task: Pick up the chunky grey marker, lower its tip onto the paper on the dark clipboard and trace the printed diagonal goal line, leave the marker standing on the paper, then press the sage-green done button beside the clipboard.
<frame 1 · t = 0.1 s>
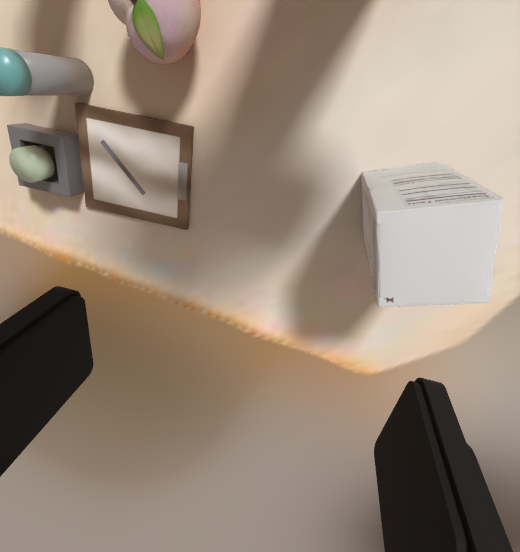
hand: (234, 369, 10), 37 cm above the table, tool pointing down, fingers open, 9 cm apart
marker: (78, 77, 42), on the table
supplement box: (399, 203, 42), on the table
done button: (32, 163, 44), point 4 cm above the table, slide at 0.0 cm
button housing: (55, 158, 48), on the table
decorative fruit: (179, 15, 37), on the table
clipboard: (136, 169, 46), on the table
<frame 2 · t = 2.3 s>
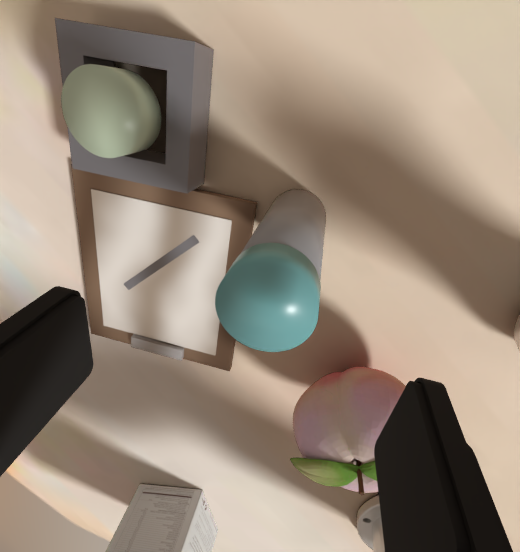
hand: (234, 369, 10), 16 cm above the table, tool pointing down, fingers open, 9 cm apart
marker: (297, 217, 23), on the table
supplement box: (180, 504, 45), on the table
done button: (113, 113, 18), point 4 cm above the table, slide at 0.0 cm
button housing: (151, 111, 22), on the table
decorative fruit: (355, 376, 29), on the table
clipboard: (162, 276, 28), on the table
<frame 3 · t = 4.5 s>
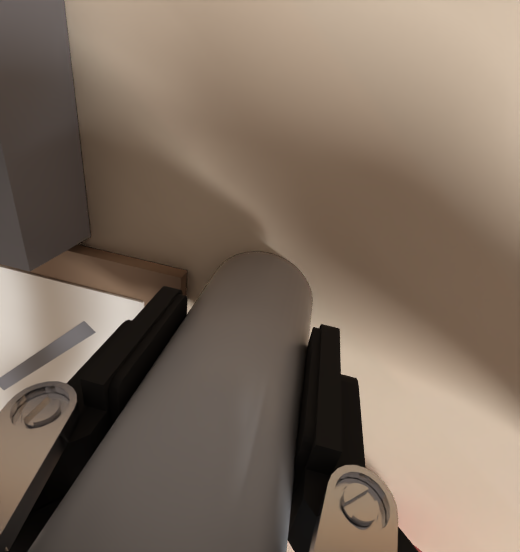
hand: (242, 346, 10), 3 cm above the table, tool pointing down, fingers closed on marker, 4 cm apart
marker: (260, 299, 13), on the table, touching gripper
clipboard: (54, 371, 17), on the table
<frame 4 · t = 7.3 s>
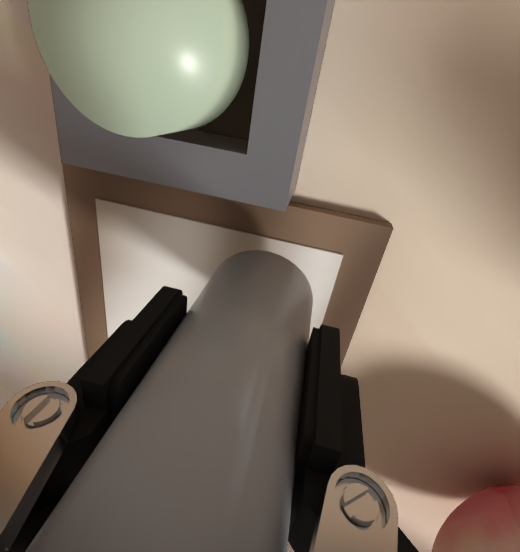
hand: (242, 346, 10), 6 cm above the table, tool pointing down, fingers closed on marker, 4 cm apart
marker: (260, 297, 13), point 3 cm above the table, touching gripper
done button: (150, 35, 8), point 4 cm above the table, slide at 0.0 cm
button housing: (208, 56, 12), on the table
decorative fruit: (502, 486, 19), on the table
clipboard: (207, 334, 18), on the table
when the fingers open (4 cm above the table, at t = 10.0 s): marker stays where it is, resting on clipboard.
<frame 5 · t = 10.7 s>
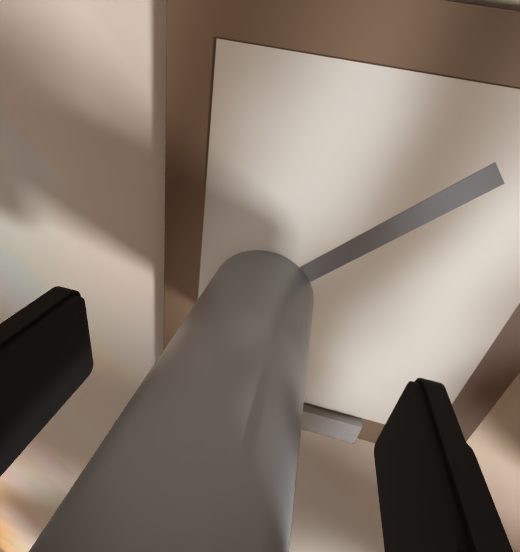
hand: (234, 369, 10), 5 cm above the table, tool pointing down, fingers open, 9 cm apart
marker: (261, 297, 13), point 1 cm above the table, touching clipboard
clipboard: (347, 274, 12), on the table
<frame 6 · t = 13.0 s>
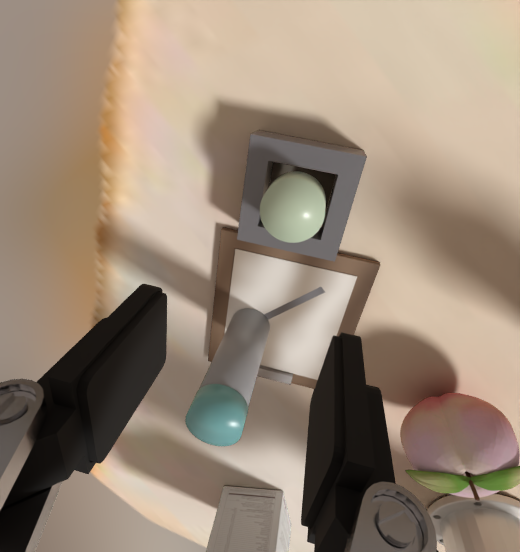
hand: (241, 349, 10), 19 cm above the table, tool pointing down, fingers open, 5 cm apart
marker: (250, 324, 34), point 1 cm above the table, touching clipboard
supplement box: (258, 503, 51), on the table
done button: (293, 206, 23), point 4 cm above the table, slide at 0.0 cm
button housing: (299, 191, 27), on the table
decorative fruit: (442, 398, 34), on the table
clipboard: (282, 316, 33), on the table
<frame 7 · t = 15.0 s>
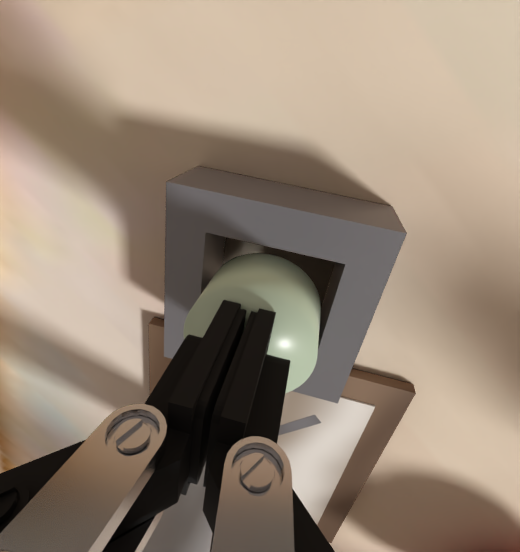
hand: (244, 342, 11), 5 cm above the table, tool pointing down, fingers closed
marker: (207, 452, 22), point 1 cm above the table, touching clipboard
done button: (256, 324, 12), point 4 cm above the table, slide at 0.1 cm, touching gripper
button housing: (275, 271, 15), on the table
clipboard: (256, 441, 21), on the table
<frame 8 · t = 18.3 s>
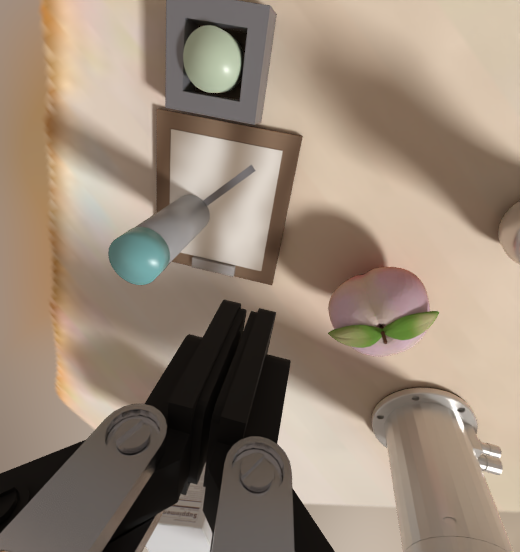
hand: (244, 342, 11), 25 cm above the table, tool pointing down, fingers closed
marker: (191, 213, 36), point 1 cm above the table, touching clipboard
supplement box: (218, 421, 53), on the table
done button: (214, 61, 27), point 3 cm above the table, slide at 1.7 cm
button housing: (224, 64, 29), on the table
decorative fruit: (374, 285, 36), on the table
clipboard: (221, 203, 35), on the table
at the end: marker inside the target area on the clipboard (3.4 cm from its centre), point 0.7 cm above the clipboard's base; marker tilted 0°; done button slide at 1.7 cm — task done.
